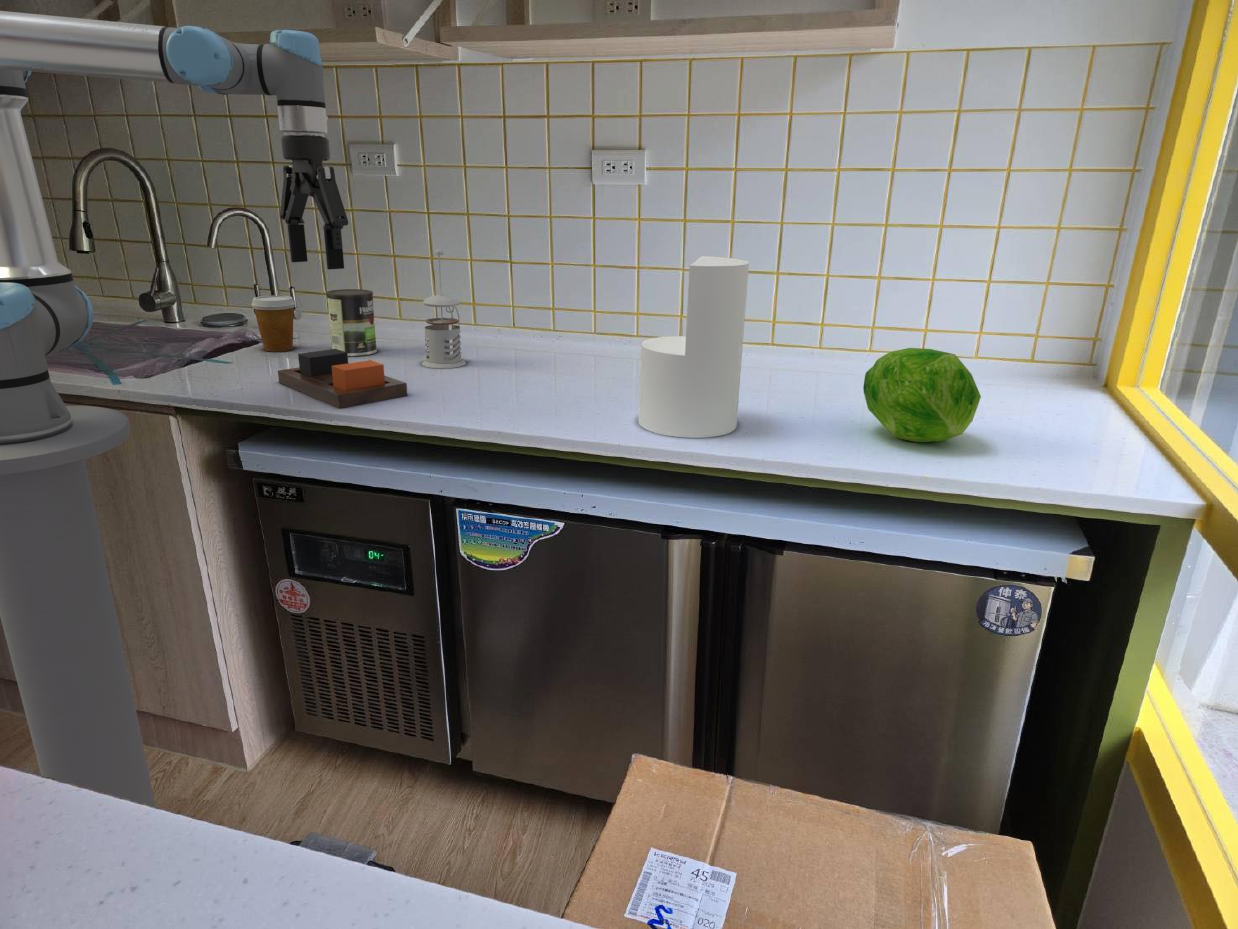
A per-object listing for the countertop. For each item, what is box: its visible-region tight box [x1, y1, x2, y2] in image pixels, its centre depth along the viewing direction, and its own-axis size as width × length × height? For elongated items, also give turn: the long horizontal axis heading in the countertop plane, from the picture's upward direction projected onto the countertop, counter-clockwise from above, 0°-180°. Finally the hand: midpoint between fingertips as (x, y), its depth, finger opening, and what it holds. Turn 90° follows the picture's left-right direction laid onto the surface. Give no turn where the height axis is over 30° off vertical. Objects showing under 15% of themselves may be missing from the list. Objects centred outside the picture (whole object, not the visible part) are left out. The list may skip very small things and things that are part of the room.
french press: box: [421, 248, 467, 369], centre depth 181 cm, size 10×12×25 cm
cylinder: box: [638, 255, 750, 439], centre depth 140 cm, size 17×17×28 cm
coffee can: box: [325, 288, 378, 357], centre depth 191 cm, size 10×10×14 cm
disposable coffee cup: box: [250, 295, 296, 353], centre depth 193 cm, size 10×10×12 cm
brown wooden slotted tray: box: [277, 367, 408, 409], centre depth 160 cm, size 14×25×2 cm, turn 45°
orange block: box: [332, 359, 385, 391], centre depth 155 cm, size 8×5×5 cm, turn 135°
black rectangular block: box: [297, 348, 349, 377], centre depth 164 cm, size 8×5×5 cm, turn 135°
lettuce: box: [862, 347, 982, 443], centre depth 137 cm, size 17×20×17 cm
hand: (317, 265), depth 144 cm, fingers open, 13 cm apart
